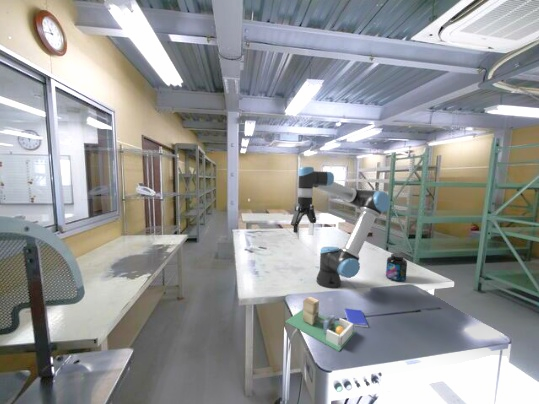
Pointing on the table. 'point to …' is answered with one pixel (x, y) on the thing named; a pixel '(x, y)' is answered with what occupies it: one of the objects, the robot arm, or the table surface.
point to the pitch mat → (315, 329)
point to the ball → (339, 330)
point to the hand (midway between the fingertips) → (303, 236)
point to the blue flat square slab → (356, 317)
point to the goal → (344, 335)
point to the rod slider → (316, 314)
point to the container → (396, 268)
